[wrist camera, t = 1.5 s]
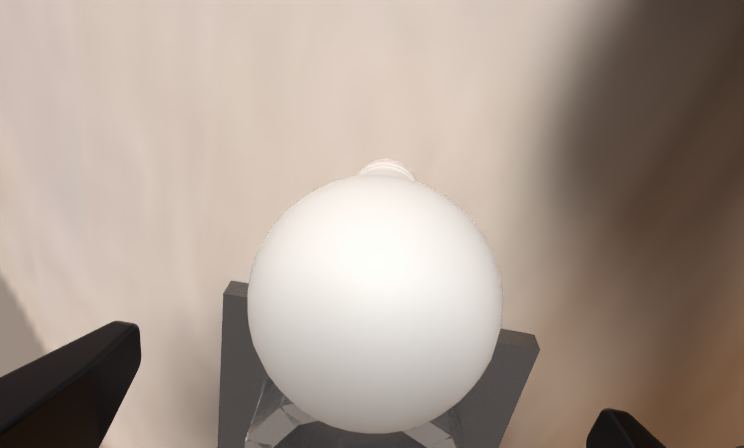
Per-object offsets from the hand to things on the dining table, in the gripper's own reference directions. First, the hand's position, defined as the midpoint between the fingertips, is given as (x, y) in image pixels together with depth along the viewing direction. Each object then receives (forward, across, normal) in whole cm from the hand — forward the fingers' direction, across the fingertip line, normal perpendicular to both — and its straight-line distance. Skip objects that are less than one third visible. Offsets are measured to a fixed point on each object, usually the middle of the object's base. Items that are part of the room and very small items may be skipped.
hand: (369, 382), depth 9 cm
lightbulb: (+11, 0, 0) cm, 11 cm away
